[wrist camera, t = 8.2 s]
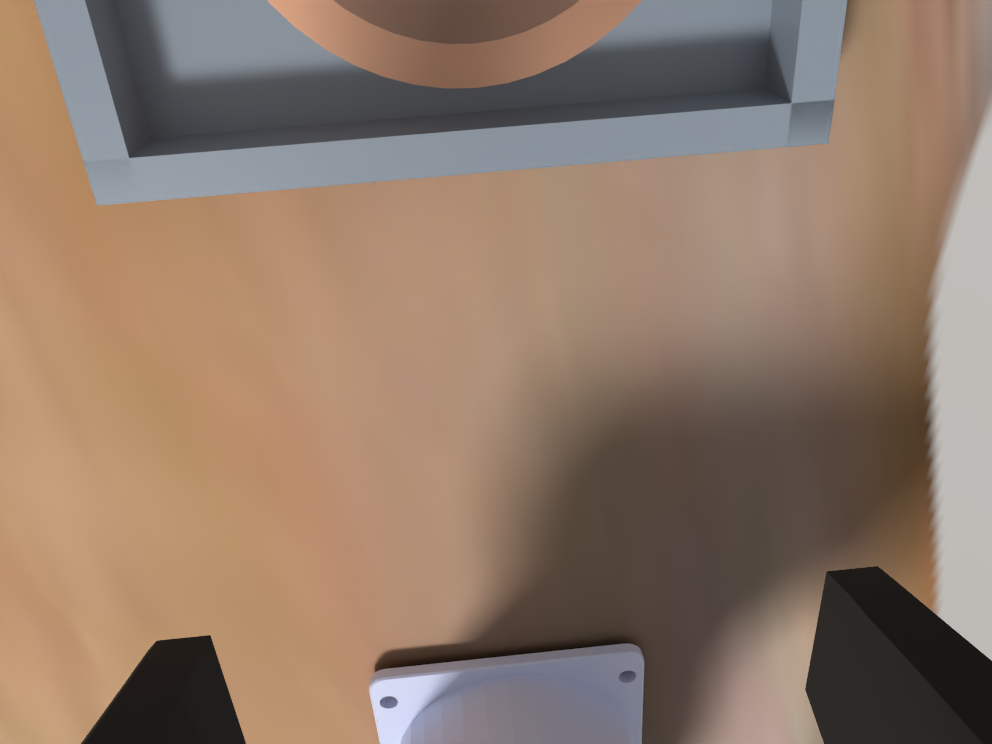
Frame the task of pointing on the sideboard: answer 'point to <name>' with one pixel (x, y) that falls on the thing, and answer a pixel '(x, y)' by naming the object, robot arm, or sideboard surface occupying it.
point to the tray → (421, 97)
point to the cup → (455, 35)
